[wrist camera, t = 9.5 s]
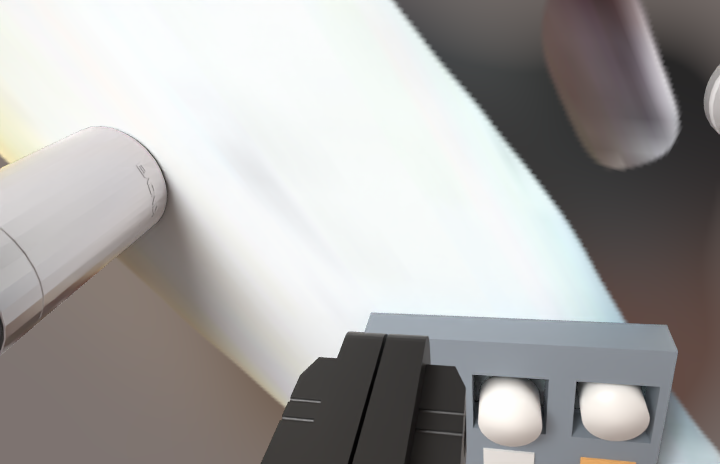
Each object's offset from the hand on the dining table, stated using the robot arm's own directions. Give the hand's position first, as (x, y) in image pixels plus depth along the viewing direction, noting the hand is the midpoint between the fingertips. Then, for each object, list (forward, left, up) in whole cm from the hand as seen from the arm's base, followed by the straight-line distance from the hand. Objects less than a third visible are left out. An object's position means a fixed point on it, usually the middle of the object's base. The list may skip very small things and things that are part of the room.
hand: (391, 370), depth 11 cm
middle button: (+3, -26, -27) cm, 37 cm away
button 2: (+10, -26, -28) cm, 39 cm away
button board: (+3, -28, -29) cm, 40 cm away
